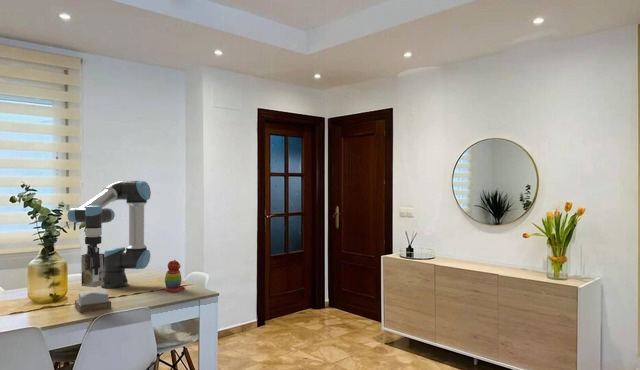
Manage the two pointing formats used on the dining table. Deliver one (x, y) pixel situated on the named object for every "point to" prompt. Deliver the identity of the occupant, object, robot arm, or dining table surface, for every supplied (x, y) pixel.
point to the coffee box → (91, 271)
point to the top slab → (93, 297)
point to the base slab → (92, 306)
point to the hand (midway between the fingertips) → (92, 279)
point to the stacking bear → (173, 278)
